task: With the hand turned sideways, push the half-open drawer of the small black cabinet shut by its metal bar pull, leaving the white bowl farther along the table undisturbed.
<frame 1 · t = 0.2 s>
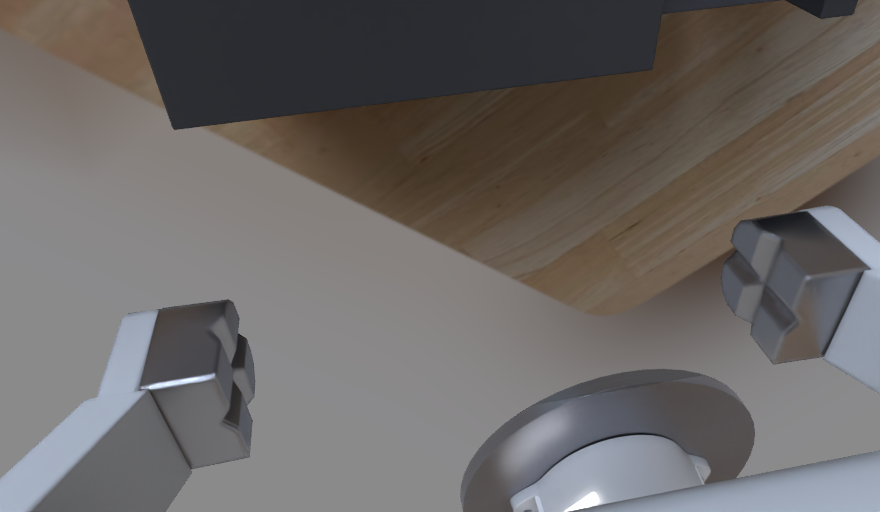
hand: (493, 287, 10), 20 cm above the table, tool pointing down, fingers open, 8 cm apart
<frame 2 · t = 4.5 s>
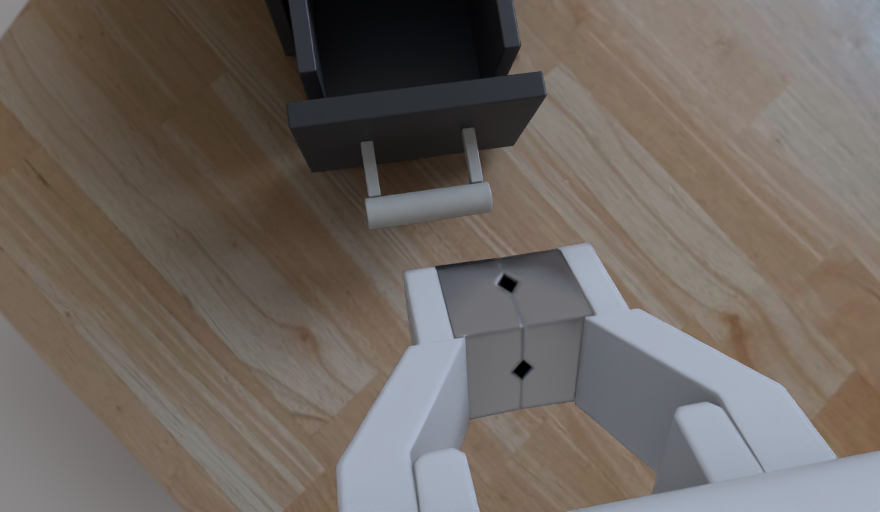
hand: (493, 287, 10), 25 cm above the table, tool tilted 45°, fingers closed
drawer: (403, 50, 32), point 5 cm above the table, slide at 6.0 cm
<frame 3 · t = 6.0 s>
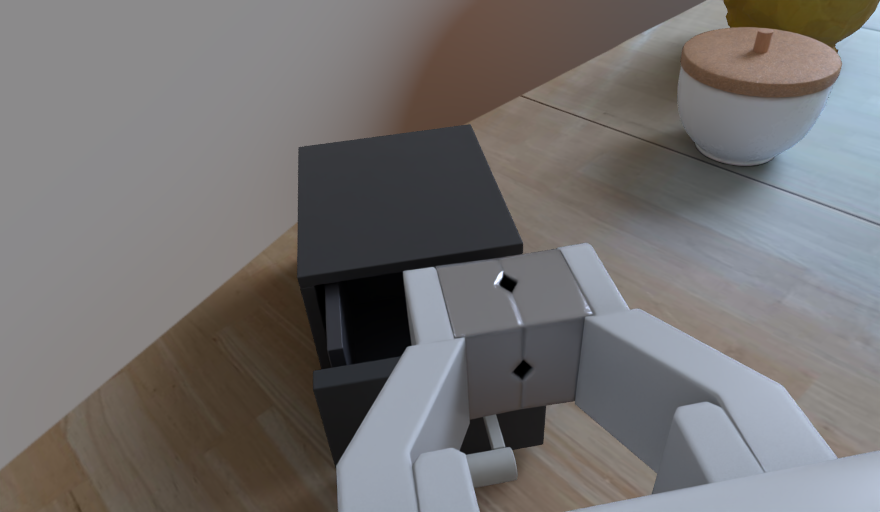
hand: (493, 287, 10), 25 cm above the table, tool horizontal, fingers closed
cabinet: (410, 299, 47), on the table
drawer: (425, 353, 36), point 5 cm above the table, slide at 6.0 cm
lidded bowl: (734, 148, 61), on the table
pitcher: (788, 48, 78), on the table
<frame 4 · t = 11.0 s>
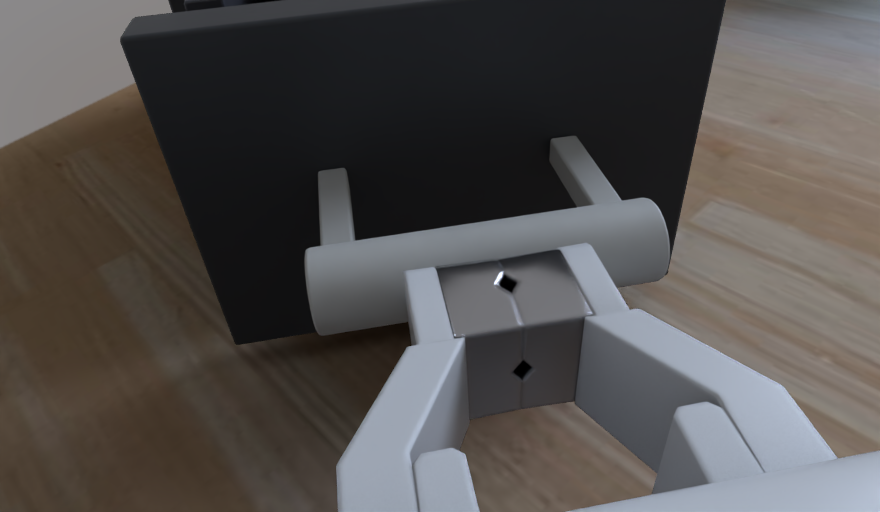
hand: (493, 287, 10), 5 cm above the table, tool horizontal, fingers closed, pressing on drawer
drawer: (420, 94, 18), point 5 cm above the table, slide at 5.5 cm, touching gripper
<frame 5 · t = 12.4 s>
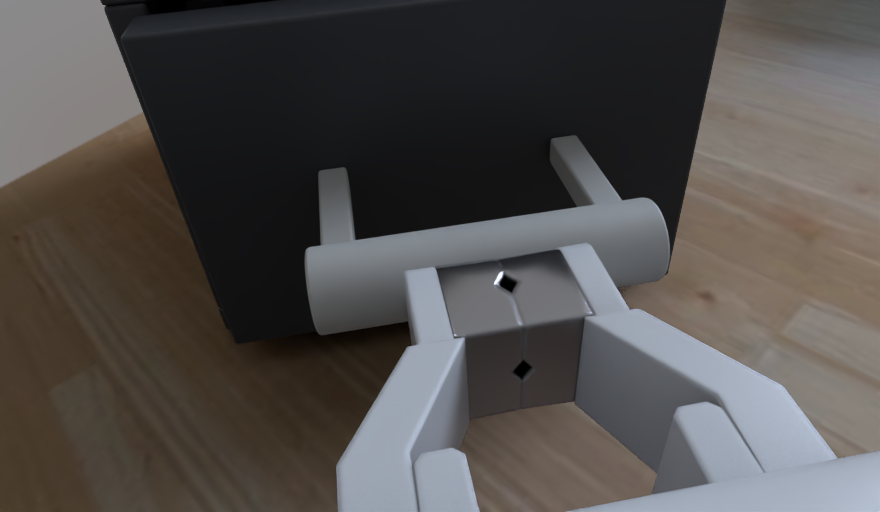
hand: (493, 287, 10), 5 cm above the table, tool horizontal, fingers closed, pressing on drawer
cabinet: (415, 166, 24), on the table
drawer: (421, 94, 18), point 5 cm above the table, slide at 0.4 cm, touching gripper
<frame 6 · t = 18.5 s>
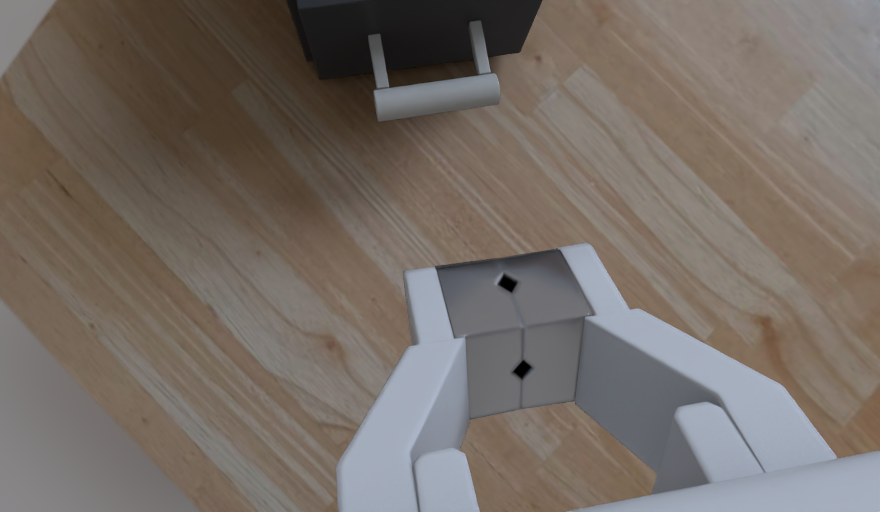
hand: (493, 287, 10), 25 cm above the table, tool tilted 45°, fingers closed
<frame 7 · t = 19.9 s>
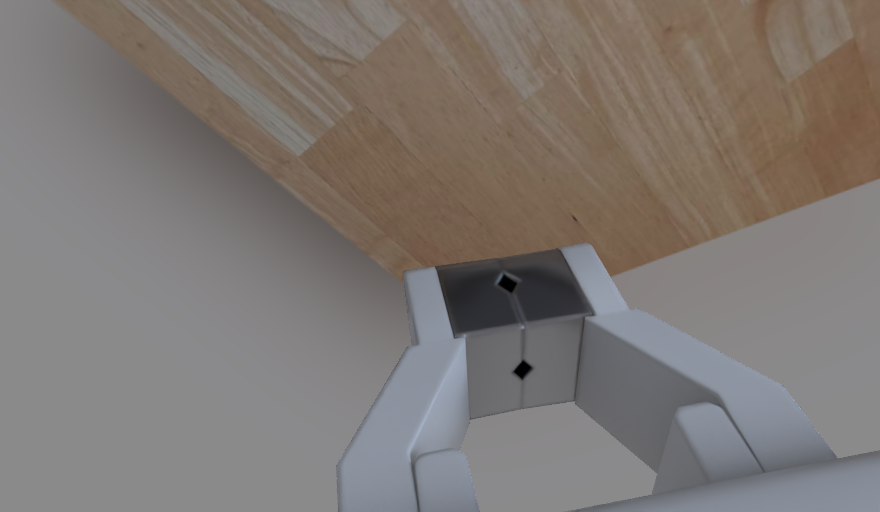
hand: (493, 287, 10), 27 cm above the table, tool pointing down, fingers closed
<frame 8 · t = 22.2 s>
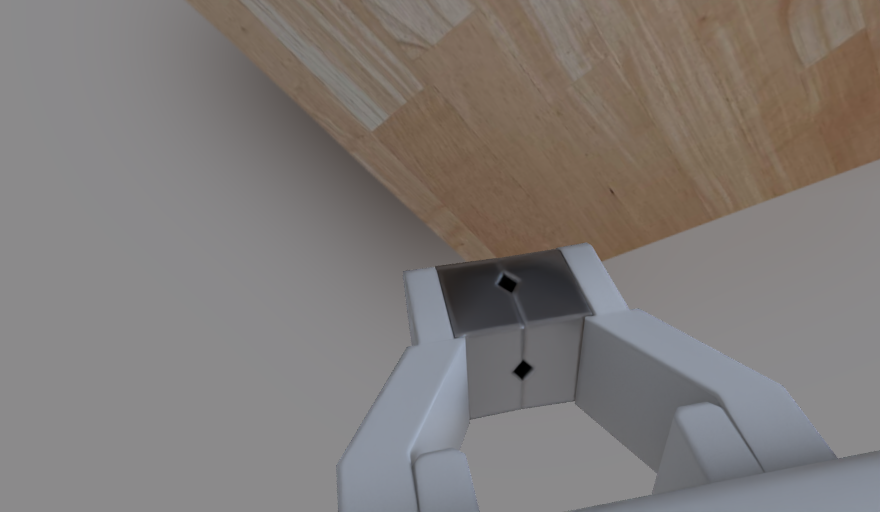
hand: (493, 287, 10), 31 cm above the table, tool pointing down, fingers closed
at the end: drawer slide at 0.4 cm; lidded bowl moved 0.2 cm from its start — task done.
